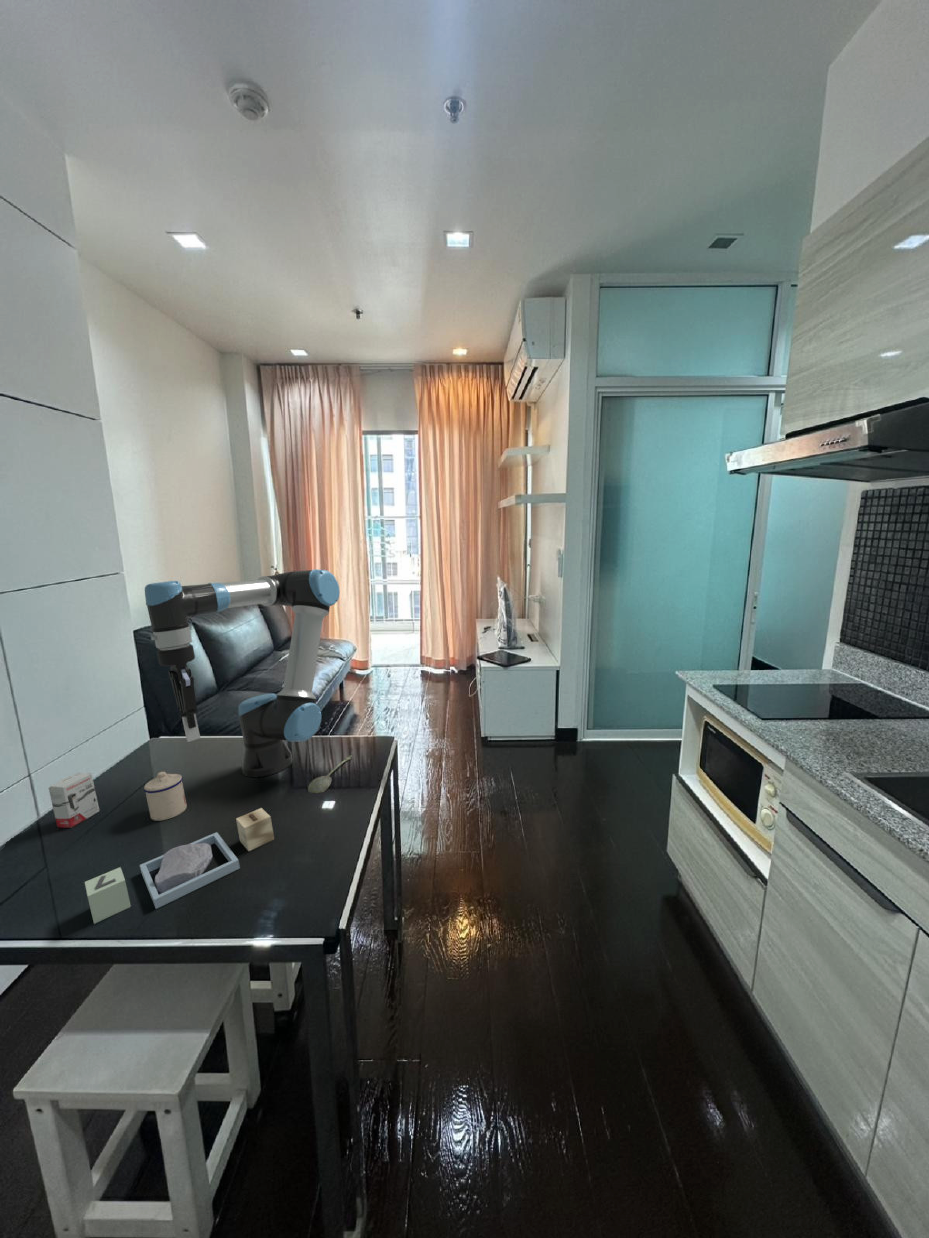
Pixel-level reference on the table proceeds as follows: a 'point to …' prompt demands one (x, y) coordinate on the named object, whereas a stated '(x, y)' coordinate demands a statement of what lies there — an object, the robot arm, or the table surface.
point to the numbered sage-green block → (107, 894)
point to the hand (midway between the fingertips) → (193, 739)
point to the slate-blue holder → (193, 883)
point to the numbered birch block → (255, 829)
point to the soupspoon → (324, 780)
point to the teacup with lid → (165, 796)
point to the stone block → (182, 865)
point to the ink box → (74, 799)
